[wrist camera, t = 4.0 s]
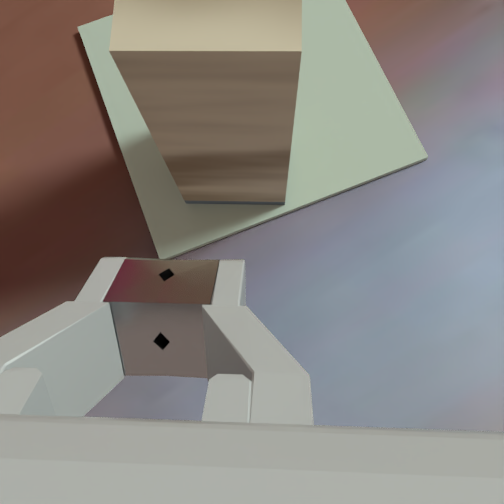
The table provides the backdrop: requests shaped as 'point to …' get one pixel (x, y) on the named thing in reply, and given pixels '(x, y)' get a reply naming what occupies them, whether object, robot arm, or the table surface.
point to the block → (215, 91)
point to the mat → (303, 139)
